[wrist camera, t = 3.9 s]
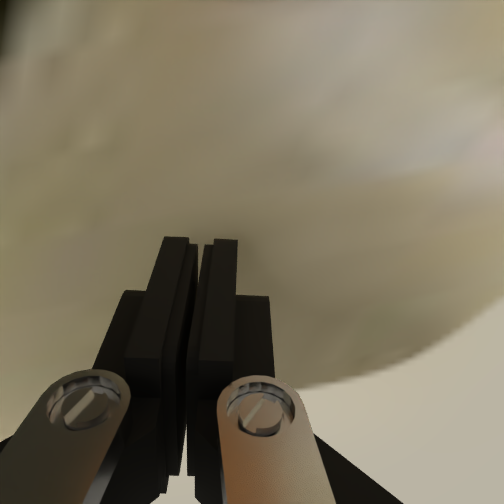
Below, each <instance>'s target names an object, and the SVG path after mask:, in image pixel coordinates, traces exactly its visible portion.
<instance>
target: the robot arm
mask: <svg viewBox="0 0 504 504" xmlns="http://www.w3.org/2000/svg"><path fill="white" fill-rule="evenodd" d="M237 245H238V240H229V239H214V245H206V244H205V246H204V252H203V258H202V264H201V270H200V276H199V282H198V244H189V237H168V236H165V237H164V239H163V242H162V245H161V248H160V251H159V254H158V257H157V260H156V263H155V266H154V269H153V272H152V275H151V277H150V280H149V283H148V286H147V289H146V291H136V290H126V291H124V293H123V294H122V297H121V299H120V301H119V304H118V306H117V309H116V311H115V314H114V316H113V319H112V321H111V323H110V326H109V328H108V331H107V333H106V336H105V338H104V341H103V343H102V345H101V348H100V350H99V353H98V355H97V358H96V360H95V363H94V365H93V367H92V369H89V370H84V371H78V372H75V373H72V374H70V375H67V376H65V377H62V378H61V379H59V380H58V381H56V382H55V383H53V384H52V385H51V386H50V387H49V388H48V389H47V390H46V391H45V392H44V393H43V394H42V395H41V397H40V398H39V400H38V401H37V402H36V404H35V405H34V407H33V408H32V410H31V411H30V412H29V414H28V415H27V417H26V418H25V419H24V421H23V422H22V424H21V425H20V426H19V428H18V429H17V431H16V432H15V433H14V435H12V436H11V437H9V438H7V439H5V440H3V441H2V442H0V504H150V503H151V502H153V501H154V500H155V499H156V498H158V497H159V494H160V493H165V494H166V491H167V485H168V479H169V475H173V476H179V473H180V466H181V460H182V453H183V445H184V438H185V431H186V424H187V475H188V476H195V498H196V499H197V500H198V501H199V502H200V503H201V504H403V503H402V502H401V501H399V500H398V499H397V498H396V497H394V496H393V495H392V494H391V493H389V492H388V491H387V490H385V489H384V488H383V487H381V486H380V485H379V484H378V483H376V482H375V481H374V480H372V479H371V478H370V477H369V476H367V475H366V474H365V473H364V472H362V471H361V470H360V469H358V468H357V467H356V466H355V465H353V464H352V463H351V462H350V461H348V460H347V459H346V458H344V457H343V456H342V455H341V454H339V453H338V452H337V451H335V450H334V449H333V448H332V447H330V446H329V445H328V444H326V443H325V442H324V441H323V440H321V439H320V438H319V437H317V436H316V435H315V434H313V431H312V428H311V425H310V422H309V419H308V416H307V413H306V410H305V407H304V404H303V402H302V400H301V398H300V396H299V394H298V393H297V392H296V391H295V390H294V389H293V388H292V387H291V386H290V385H288V384H286V383H284V382H283V381H281V380H279V379H276V378H275V371H274V357H273V343H272V330H271V316H270V302H269V297H268V296H249V295H236V273H237Z"/></svg>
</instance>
